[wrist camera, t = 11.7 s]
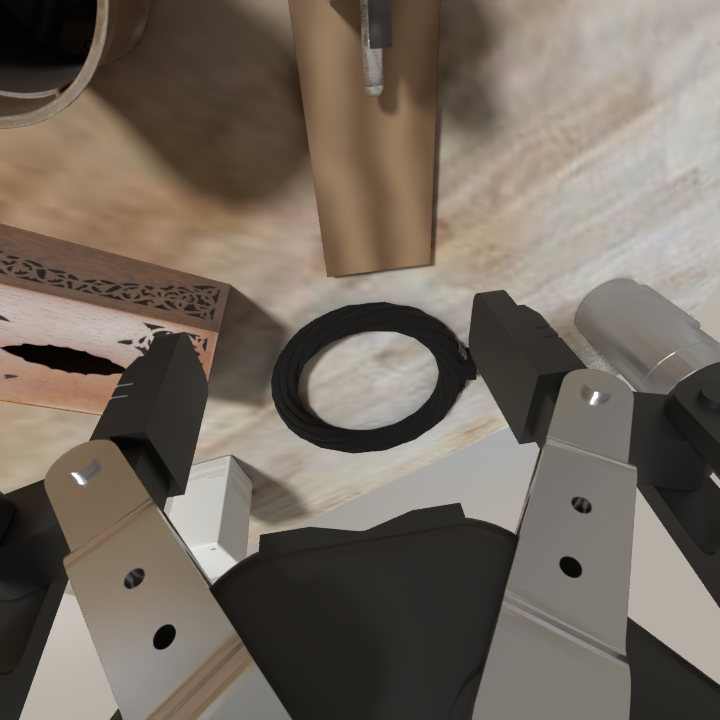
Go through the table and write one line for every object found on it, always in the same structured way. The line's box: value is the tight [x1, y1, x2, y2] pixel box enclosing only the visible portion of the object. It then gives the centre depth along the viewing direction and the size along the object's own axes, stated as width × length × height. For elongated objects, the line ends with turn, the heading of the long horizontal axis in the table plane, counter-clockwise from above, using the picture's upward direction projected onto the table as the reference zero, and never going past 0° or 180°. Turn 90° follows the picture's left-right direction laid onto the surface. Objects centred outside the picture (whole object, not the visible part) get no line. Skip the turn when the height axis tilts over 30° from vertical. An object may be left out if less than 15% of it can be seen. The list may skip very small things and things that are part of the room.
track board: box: [288, 0, 440, 277], centre depth 31 cm, size 12×34×16 cm, turn 4°
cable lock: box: [271, 302, 480, 453], centre depth 58 cm, size 28×4×30 cm
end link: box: [328, 0, 384, 97], centre depth 27 cm, size 6×9×15 cm, turn 4°
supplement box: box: [169, 455, 252, 578], centre depth 63 cm, size 9×9×15 cm
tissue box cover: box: [0, 224, 230, 416], centre depth 43 cm, size 26×14×10 cm, turn 68°
